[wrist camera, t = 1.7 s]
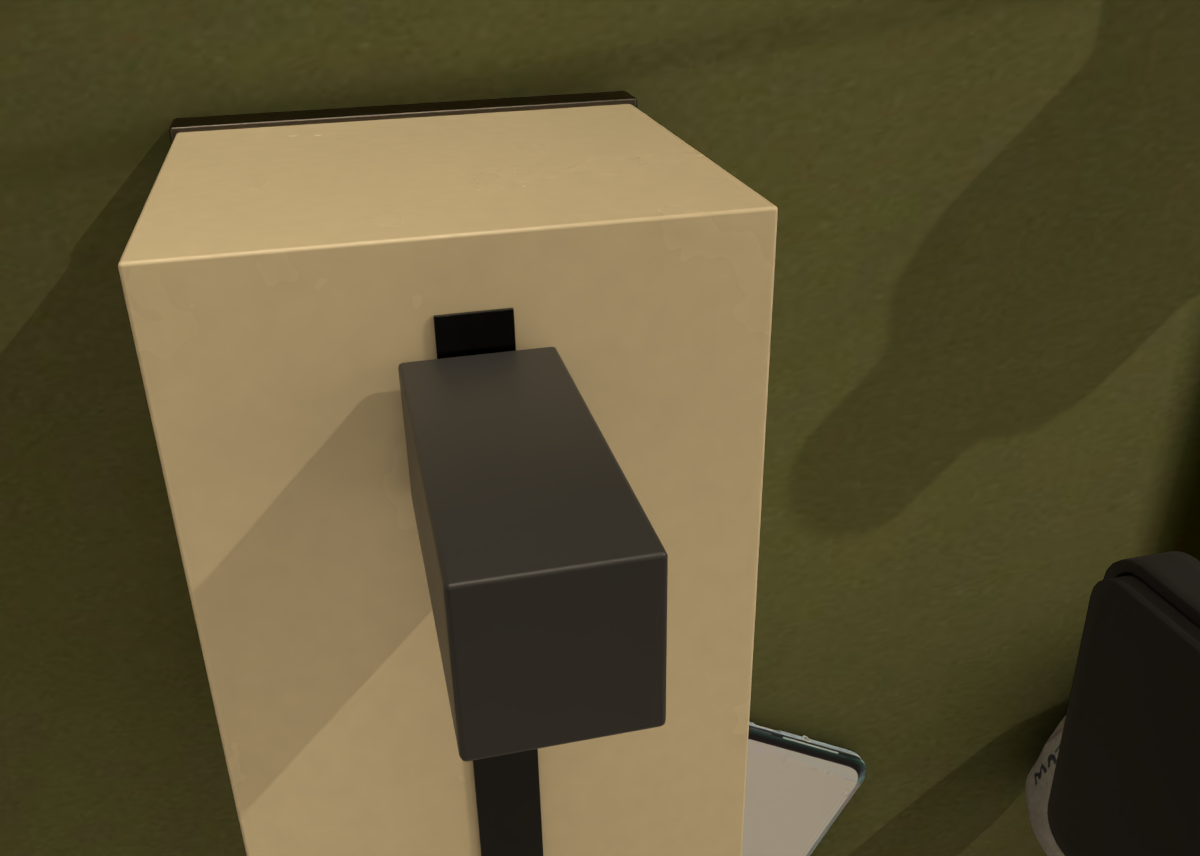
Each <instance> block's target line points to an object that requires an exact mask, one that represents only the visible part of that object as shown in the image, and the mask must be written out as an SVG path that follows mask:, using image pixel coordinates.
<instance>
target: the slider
mask: <svg viewBox="0 0 1200 856" xmlns="http://www.w3.org/2000/svg"><path fill="white" fill-rule="evenodd" d="M398 372H399V381H400V390H401V400H402V409H403V419H404V428H405V437H406V447H407V456H408V466H409V475H410V485H411V494H412V502H413V507H414V513H415V518H416V524H417V529H418V534H419V540H420V545H421V551H422V556H423V561H424V567H425V572H426V578H427V583H428V589H429V594H430V599H431V605H432V610H433V616H434V621H435V627H436V632H437V637H438V643H439V648H440V654H441V659H442V665H443V670H444V675H445V681H446V686H447V692H448V697H449V703H450V708H451V713H452V719H453V724H454V730H455V735H456V740H457V746H458V751H459V756H460V758H461V759H462V761H466V762H467V761H473V760H478V759H484V758H489V757H495V756H500V755H506V754H511V753H517V752H522V751H528V750H533V749H539V748H544V747H550V746H555V745H561V744H566V743H572V742H578V741H583V740H589V739H594V738H600V737H605V736H611V735H616V734H622V733H627V732H633V731H638V730H644V729H649V728H655V727H660V726H663V725H664V724H665V720H666V659H667V580H668V555H667V553H666V551H665V549H664V547H663V545H662V543H661V541H660V539H659V538H658V536H657V534H656V532H655V530H654V528H653V527H652V525H651V523H650V521H649V519H648V517H647V516H646V514H645V512H644V510H643V508H642V506H641V504H640V503H639V501H638V499H637V497H636V495H635V493H634V492H633V490H632V488H631V486H630V484H629V482H628V480H627V479H626V477H625V475H624V473H623V471H622V469H621V468H620V466H619V464H618V462H617V460H616V458H615V456H614V455H613V453H612V451H611V449H610V447H609V445H608V444H607V442H606V440H605V438H604V436H603V434H602V432H601V431H600V429H599V427H598V425H597V423H596V421H595V420H594V418H593V416H592V414H591V412H590V410H589V408H588V407H587V405H586V403H585V401H584V399H583V397H582V396H581V394H580V392H579V390H578V388H577V386H576V384H575V383H574V381H573V379H572V377H571V375H570V373H569V372H568V370H567V368H566V366H565V364H564V362H563V360H562V359H561V357H560V355H559V353H558V351H557V349H556V348H555V347H544V348H535V349H526V350H517V351H507V352H498V353H489V354H479V355H470V356H461V357H452V358H442V359H433V360H424V361H414V362H405V363H401V364H399V367H398Z"/></svg>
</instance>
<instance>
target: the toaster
mask: <svg viewBox="0 0 1200 856" xmlns="http://www.w3.org/2000/svg"><path fill="white" fill-rule="evenodd" d="M169 132H170V138H171V143H172V145H171V147H170V149H169V152H168V154H167V156H166V158H165V161H164V163H163V165H162V167H161V170H160V172H159V174H158V176H157V178H156V181H155V183H154V185H153V187H152V190H151V192H150V194H149V196H148V198H147V201H146V203H145V205H144V207H143V210H142V212H141V214H140V216H139V219H138V221H137V223H136V225H135V227H134V230H133V232H132V234H131V236H130V239H129V241H128V243H127V245H126V248H125V250H124V252H123V254H122V256H121V259H120V261H119V263H118V270H119V274H120V279H121V283H122V288H123V292H124V297H125V302H126V306H127V311H128V315H129V320H130V324H131V329H132V334H133V338H134V343H135V347H136V352H137V356H138V361H139V366H140V370H141V375H142V379H143V384H144V388H145V393H146V398H147V402H148V407H149V411H150V416H151V420H152V425H153V430H154V434H155V439H156V443H157V448H158V452H159V457H160V462H161V466H162V471H163V475H164V480H165V484H166V489H167V494H168V498H169V503H170V507H171V512H172V516H173V521H174V526H175V530H176V535H177V539H178V544H179V548H180V553H181V558H182V562H183V567H184V571H185V576H186V580H187V585H188V590H189V594H190V599H191V603H192V608H193V612H194V617H195V622H196V626H197V631H198V635H199V640H200V644H201V649H202V654H203V658H204V663H205V667H206V672H207V676H208V681H209V686H210V690H211V695H212V699H213V704H214V708H215V713H216V718H217V722H218V727H219V731H220V736H221V740H222V745H223V750H224V754H225V759H226V763H227V768H228V772H229V777H230V782H231V786H232V791H233V795H234V800H235V804H236V809H237V814H238V818H239V823H240V827H241V832H242V836H243V841H244V846H245V850H246V855H247V856H742V841H743V824H744V806H745V788H746V770H747V752H748V734H749V716H750V698H751V680H752V662H753V644H754V627H755V609H756V591H757V573H758V555H759V537H760V519H761V501H762V483H763V465H764V447H765V430H766V412H767V394H768V376H769V358H770V340H771V322H772V304H773V286H774V268H775V250H776V233H777V215H778V209H777V207H776V206H775V205H774V204H772V203H771V202H769V201H768V200H766V199H765V198H764V197H762V196H761V195H759V194H758V193H756V192H755V191H754V190H752V189H751V188H749V187H748V186H747V185H745V184H744V183H742V182H741V181H739V180H738V179H737V178H735V177H734V176H732V175H731V174H729V173H728V172H727V171H725V170H724V169H722V168H721V167H720V166H718V165H717V164H715V163H714V162H712V161H711V160H710V159H708V158H707V157H705V156H704V155H702V154H701V153H700V152H698V151H697V150H695V149H694V148H693V147H691V146H690V145H688V144H687V143H685V142H684V141H683V140H681V139H680V138H678V137H677V136H675V135H674V134H673V133H671V132H670V131H668V130H667V129H666V128H664V127H663V126H661V125H660V124H658V123H657V122H656V121H654V120H653V119H651V118H650V117H649V116H647V115H646V114H644V113H643V112H641V111H640V110H639V109H637V100H636V98H635V97H633V96H632V95H630V94H629V93H627V92H625V91H617V92H601V93H584V94H568V95H552V96H535V97H519V98H503V99H486V100H470V101H454V102H437V103H421V104H405V105H389V106H372V107H356V108H340V109H323V110H307V111H291V112H274V113H258V114H242V115H225V116H209V117H193V118H176V119H174V120H173V122H172V124H171V126H170V129H169ZM544 347H555V348H556V349H557V351H558V353H559V355H560V357H561V359H562V360H563V362H564V364H565V366H566V368H567V370H568V372H569V373H570V375H571V377H572V379H573V381H574V383H575V384H576V386H577V388H578V390H579V392H580V394H581V396H582V397H583V399H584V401H585V403H586V405H587V407H588V408H589V410H590V412H591V414H592V416H593V418H594V420H595V421H596V423H597V425H598V427H599V429H600V431H601V432H602V434H603V436H604V438H605V440H606V442H607V444H608V445H609V447H610V449H611V451H612V453H613V455H614V456H615V458H616V460H617V462H618V464H619V466H620V468H621V469H622V471H623V473H624V475H625V477H626V479H627V480H628V482H629V484H630V486H631V488H632V490H633V492H634V493H635V495H636V497H637V499H638V501H639V503H640V504H641V506H642V508H643V510H644V512H645V514H646V516H647V517H648V519H649V521H650V523H651V525H652V527H653V528H654V530H655V532H656V534H657V536H658V538H659V539H660V541H661V543H662V545H663V547H664V549H665V551H666V553H667V555H668V580H667V659H666V720H665V724H664V725H663V726H660V727H655V728H649V729H644V730H638V731H633V732H627V733H622V734H616V735H611V736H605V737H600V738H594V739H589V740H583V741H578V742H572V743H566V744H561V745H555V746H550V747H544V748H539V749H533V750H528V751H522V752H517V753H511V754H506V755H500V756H495V757H489V758H484V759H478V760H473V761H467V762H466V761H462V759H461V758H460V756H459V751H458V746H457V740H456V735H455V730H454V724H453V719H452V713H451V708H450V703H449V697H448V692H447V686H446V681H445V675H444V670H443V665H442V659H441V654H440V648H439V643H438V637H437V632H436V627H435V621H434V616H433V610H432V605H431V599H430V594H429V589H428V583H427V578H426V572H425V567H424V561H423V556H422V551H421V545H420V540H419V534H418V529H417V524H416V518H415V513H414V507H413V502H412V494H411V485H410V475H409V466H408V456H407V447H406V437H405V428H404V419H403V409H402V400H401V390H400V381H399V372H398V367H399V364H401V363H405V362H414V361H424V360H433V359H442V358H452V357H461V356H470V355H479V354H489V353H498V352H507V351H517V350H526V349H535V348H544Z"/></svg>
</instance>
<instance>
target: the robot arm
mask: <svg viewBox="0 0 1200 856" xmlns="http://www.w3.org/2000/svg"><path fill="white" fill-rule="evenodd" d="M1047 815H1048V823H1049V826H1050V829H1051V833H1052V835H1053V837H1054V839H1055V842H1056V844H1057V845H1058V847H1059V848H1060V850H1061V851H1062V852H1063V854H1064V855H1065V856H1200V561H1198V560H1197V559H1196V558H1194V557H1192V556H1190V555H1188V554H1186V553H1185V552H1177V551H1171V552H1165V553H1159V554H1153V555H1147V556H1142V557H1136V558H1130V559H1124V560H1120V561H1117V562H1115V563H1113V564H1112V565H1111V566H1110V567H1109V568H1108V570H1107V571H1106V573H1105V576H1104V579H1103V580H1102V581H1099V582H1098V583H1097V584H1096V585H1095V586H1094V587H1093V590H1092V593H1091V596H1090V601H1089V606H1088V611H1087V615H1086V620H1085V625H1084V630H1083V635H1082V640H1081V645H1080V650H1079V654H1078V659H1077V664H1076V669H1075V674H1074V679H1073V684H1072V689H1071V693H1070V698H1069V703H1068V708H1067V713H1066V718H1065V723H1064V728H1063V733H1062V737H1061V742H1060V747H1059V752H1058V757H1057V762H1056V767H1055V772H1054V776H1053V781H1052V786H1051V791H1050V796H1049V801H1048V809H1047Z"/></svg>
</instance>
